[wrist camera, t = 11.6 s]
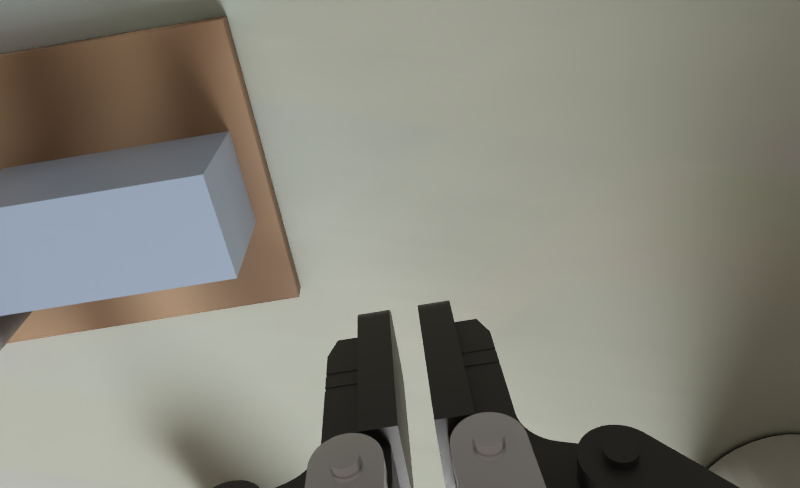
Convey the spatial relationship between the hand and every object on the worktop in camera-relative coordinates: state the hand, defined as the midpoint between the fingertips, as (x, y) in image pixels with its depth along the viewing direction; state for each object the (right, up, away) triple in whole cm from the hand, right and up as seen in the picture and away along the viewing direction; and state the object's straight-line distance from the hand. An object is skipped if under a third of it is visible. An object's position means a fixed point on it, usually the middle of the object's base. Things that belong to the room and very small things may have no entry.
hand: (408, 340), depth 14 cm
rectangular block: (-11, +4, +11) cm, 16 cm away
